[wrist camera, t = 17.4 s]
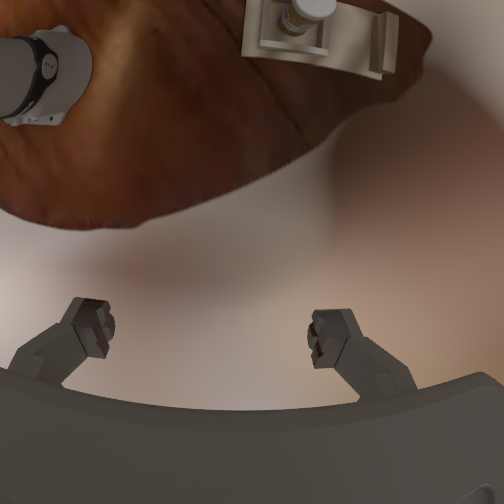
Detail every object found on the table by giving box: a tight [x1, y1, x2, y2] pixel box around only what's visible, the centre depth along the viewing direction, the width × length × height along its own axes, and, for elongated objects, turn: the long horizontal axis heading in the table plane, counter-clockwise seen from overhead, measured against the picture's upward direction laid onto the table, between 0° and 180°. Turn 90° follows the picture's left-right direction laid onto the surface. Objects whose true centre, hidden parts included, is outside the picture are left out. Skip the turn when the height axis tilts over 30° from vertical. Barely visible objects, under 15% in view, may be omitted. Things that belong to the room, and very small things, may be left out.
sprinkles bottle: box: [278, 0, 337, 37], centre depth 26 cm, size 5×5×13 cm
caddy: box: [241, 0, 399, 80], centre depth 30 cm, size 22×12×6 cm, turn 85°
